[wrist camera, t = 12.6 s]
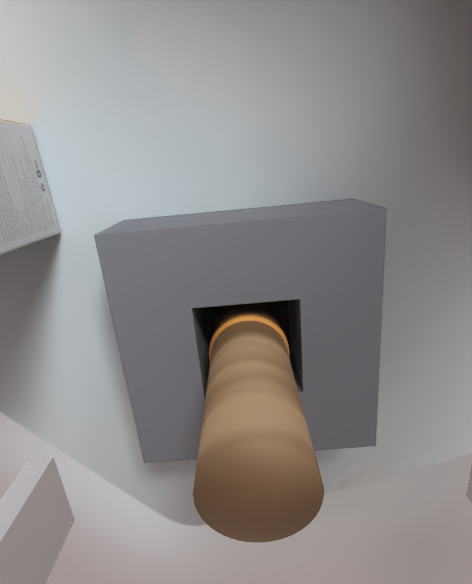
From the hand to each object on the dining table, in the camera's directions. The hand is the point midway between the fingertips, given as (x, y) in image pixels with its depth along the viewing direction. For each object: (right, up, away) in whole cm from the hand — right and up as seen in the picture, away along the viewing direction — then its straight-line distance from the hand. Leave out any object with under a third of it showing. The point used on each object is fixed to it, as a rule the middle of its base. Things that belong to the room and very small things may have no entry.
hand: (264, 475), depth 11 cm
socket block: (0, +4, +13) cm, 14 cm away
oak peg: (0, +4, +13) cm, 14 cm away
